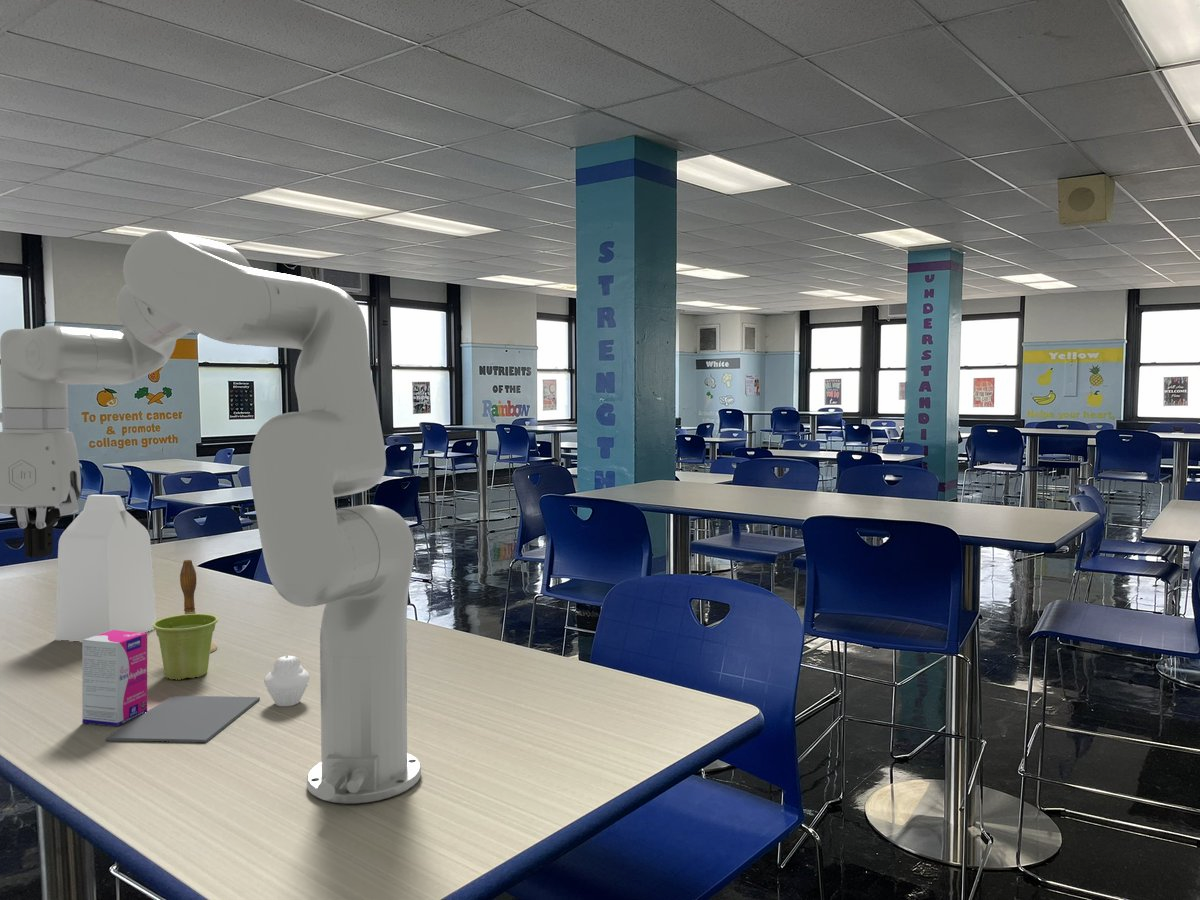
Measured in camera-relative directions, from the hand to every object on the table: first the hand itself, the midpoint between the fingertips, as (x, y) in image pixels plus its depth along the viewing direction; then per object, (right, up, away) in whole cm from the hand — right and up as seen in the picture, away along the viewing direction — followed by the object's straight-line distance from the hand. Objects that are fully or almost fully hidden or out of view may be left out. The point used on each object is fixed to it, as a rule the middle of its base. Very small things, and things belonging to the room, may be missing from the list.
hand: (39, 556), depth 118 cm
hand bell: (+5, -21, +33) cm, 39 cm away
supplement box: (+10, -23, +1) cm, 25 cm away
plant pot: (+11, -22, +20) cm, 31 cm away
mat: (+20, -22, 0) cm, 30 cm away
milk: (-15, -20, +44) cm, 51 cm away
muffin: (+31, -22, +7) cm, 39 cm away
